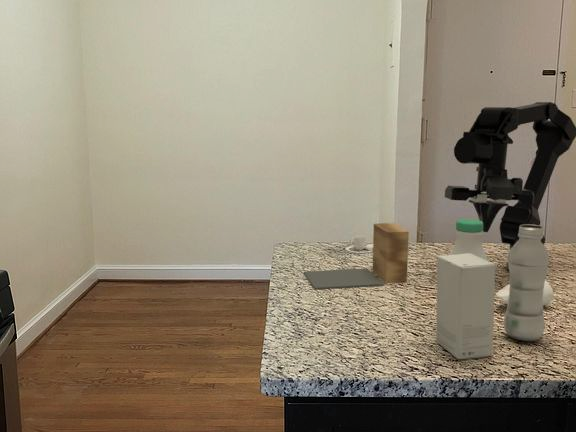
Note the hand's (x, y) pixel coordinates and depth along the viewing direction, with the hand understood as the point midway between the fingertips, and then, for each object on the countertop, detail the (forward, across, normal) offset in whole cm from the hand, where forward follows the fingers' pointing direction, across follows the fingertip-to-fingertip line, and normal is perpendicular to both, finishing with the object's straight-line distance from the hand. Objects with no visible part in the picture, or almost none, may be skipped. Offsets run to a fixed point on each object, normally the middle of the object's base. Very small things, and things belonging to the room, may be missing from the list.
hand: (485, 231), depth 134 cm
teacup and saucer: (+12, -22, +28) cm, 38 cm away
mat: (+13, -32, +3) cm, 34 cm away
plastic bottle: (+13, -4, -34) cm, 36 cm away
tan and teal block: (+12, -20, +4) cm, 24 cm away
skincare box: (+14, -17, -38) cm, 43 cm away
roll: (+12, +1, -18) cm, 22 cm away
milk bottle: (+13, -13, -28) cm, 34 cm away
